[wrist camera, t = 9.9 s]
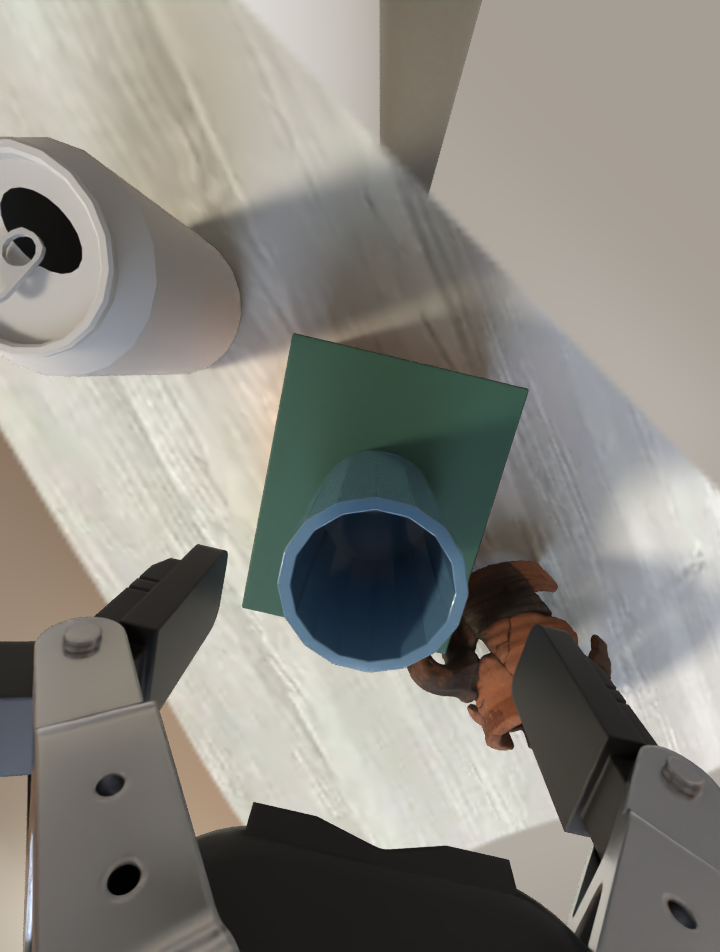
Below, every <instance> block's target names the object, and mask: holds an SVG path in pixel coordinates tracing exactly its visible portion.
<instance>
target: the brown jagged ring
mask: <svg viewBox="0 0 720 952" xmlns="http://www.w3.org/2000/svg"><path fill="white" fill-rule="evenodd" d="M557 588H558V586H557V584H556V582H555V581H554V579H553V578H552V577H551V576H550V575H549V574H548V573H547V572H546V571H545V570H543V568H542V567H541V566H540V565H539V564H538V563H536V562H531V561H511V562H503V563H499V564H494V565H489V566H487V567H485V568H482V569H478V570H476V571H475V572H472V573H471V575H470V578H469V581H468V590H469V593H468V598H467V601H466V604H465V607H464V610H463V613H462V617H461V620H460V623H459V625H458V627H457V629H456V630H455V631H454V632H453V633H452V635H451V638H450V641H449V644H448V647H447V651H446V653H445V654H442V658H443V659H444V661H445V665H443V664H439V663H437V662H436V661H435V660H434V659H433V658H432V657H431V655H429V656H428V657H426V658H424V659H422V660H420V661H418V662H416V663H414V664H412V665H410V666H408V667H407V669H408V671H409V673H410V676H411V678H412V679H413V680H414V682H415V683H416V684H417V685H418V686H420V687H421V688H422V689H424V690H425V691H428V692H430V693H433V694H436V695H440V696H453V697H457V698H458V699H460V700H461V701H462V702H465V703H469V702H472V701H473V700H475V701H476V705H474V704H470V705H469V706H468V707H467V709H468V712H469V714H470V716H471V717H472V719H473V720H474V721H475V722H477V723H478V724H480V725H481V726H482V728H483V731H484V734H485V740H486V743H487V745H488V746H490V747H491V748H494V749H497V750H512V749H513V748H514V744H513V741H512V739H511V736H510V734H509V732H515V731H519V730H522V731H523V732H524V734H525V737H526V741H527V743H528V747H529V748H530V749H532V747H531V745H530V742H529V740H528V737H527V735H526V732H525V730H524V727H523V724H522V722H521V719H520V717H519V714H518V712H517V709H516V707H515V704H514V701H513V697H512V680H513V676H514V673H515V670H516V667H517V665H518V662H519V659H520V657H521V654H522V651H523V649H524V646H525V643H526V641H527V638H528V635H529V633H530V630H531V629H532V627H533V626H534V625H536V624H539V625H543V626H548V627H552V628H556V629H561V630H565V631H567V632H569V634H570V635H571V636H572V638H573V639H574V641H575V642H576V643H577V645H578V638H577V634H576V632H574V631H573V629H572V627H571V626H570V625H569V624H568V623H567V622H566V621H564V620H562V619H559V618H556V617H552V616H551V614H552V612H551V611H550V610H549V608H548V607H547V605H546V604H545V603H544V602H543V601H542V600H541V599H540V597H539V596H538V595H537V594H536V593H535V592H538V591H548V592H555V591H556V590H557ZM478 639H480V640H482V641H483V642H484V644H485V645H486V646H487V647H488V648H489V650H490V651H491V653H489V654H487V655H484V656H483V657H482V658H481V659H479V658H478V656H477V654H476V653H475V649H476V645H477V642H478ZM588 658H590V659H591V660H592V661H593V662H594V663H595V664H596V665H598V666H599V667H600V668H601V669H602V670H603V671H604V672H605V673H606V674H607V676H608V677H609V679H611V676H610V675H611V662H610V659H609V657H608V652H607V645H606V643H605V642H604V641H603V640H602V639H601V638H600V637H599V636H597V635H592V637H591V651H590V653H589V656H588Z"/></svg>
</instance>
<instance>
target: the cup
mask: <svg viewBox="0 0 720 952" xmlns="http://www.w3.org/2000/svg"><path fill="white" fill-rule="evenodd" d="M277 583H278V585H277V586H278V590H279V595H280V599H281V603H282V608H283V612H284V616H285V618H286V620H287V621H288V623H289V624H290V625H291V627H292V628H293V630H294V631H295V632H296V634H297V635H298V637H299V638H300V639H301V641H302V642H303V644H304V645H305V646H307V647H308V648H310V649H311V650H313V651H314V652H316V653H317V654H319V655H320V656H322V657H323V658H325V659H327V660H328V661H330V662H331V663H333V664H335V665H339V666H343V667H347V668H352V669H356V670H360V671H364V672H377V671H386V670H395V669H403V668H406V667H408V666H410V665H412V664H414V663H416V662H418V661H420V660H422V659H424V658H426V657H428V656H429V655H431V654H433V653H435V652H436V651H437V650H438V649H439V648H440V647H441V646H442V644H443V643H444V642H445V641H446V640H447V639H448V638H449V636H450V635H451V634H452V633H453V632H454V631H455V630H456V629H457V627H458V625H459V623H460V620H461V617H462V613H463V610H464V607H465V604H466V601H467V598H468V593H469V590H468V582H467V573H466V565H465V559H464V557H463V554H462V552H461V550H460V548H459V545H458V543H457V541H456V539H455V536H454V534H453V532H452V530H451V528H450V525H449V523H448V521H447V519H446V516H445V514H444V512H443V510H442V507H441V505H440V503H439V501H438V498H437V496H436V494H435V492H434V490H433V488H432V487H431V485H430V483H429V481H428V479H427V478H426V476H425V475H424V473H423V472H422V471H421V470H420V469H419V468H418V467H417V466H416V465H415V464H414V463H412V462H411V461H410V460H408V459H406V458H405V457H403V456H401V455H398V454H396V453H392V452H389V451H383V450H368V451H362V452H358V453H355V454H352V455H350V456H348V457H346V458H344V459H342V460H341V461H339V462H338V463H337V464H336V465H334V466H333V467H332V468H331V469H330V471H329V472H328V473H327V474H326V476H325V477H324V479H323V480H322V482H321V483H320V485H319V486H318V488H317V490H316V492H315V493H314V495H313V497H312V499H311V501H310V503H309V505H308V507H307V508H306V510H305V512H304V514H303V516H302V518H301V520H300V522H299V523H298V525H297V527H296V529H295V531H294V533H293V535H292V536H291V538H290V540H289V542H288V544H287V546H286V548H285V550H284V553H283V557H282V562H281V567H280V572H279V577H278V582H277Z"/></svg>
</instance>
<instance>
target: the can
mask: <svg viewBox="0 0 720 952" xmlns="http://www.w3.org/2000/svg"><path fill="white" fill-rule="evenodd" d="M240 317H241V307H240V292H239V289H238V286H237V283H236V280H235V277H234V274H233V271H232V269H231V268H230V267H229V265H228V264H227V262H226V261H225V259H224V258H223V257H222V255H221V254H220V252H219V251H218V250H217V249H215V248H214V247H213V246H212V245H210V244H209V243H208V242H206V241H205V240H204V239H203V238H201V237H200V236H199V235H197V234H196V233H195V232H193V231H192V230H191V229H189V228H188V227H187V226H185V225H184V224H183V223H181V222H180V221H178V220H177V219H176V218H174V217H173V216H172V215H170V214H169V213H168V212H166V211H165V210H164V209H162V208H161V207H160V206H158V205H157V204H156V203H154V202H153V201H152V200H150V199H149V198H147V197H146V196H145V195H143V194H142V193H141V192H139V191H138V190H137V189H135V188H134V187H133V186H131V185H130V184H129V183H127V182H126V181H125V180H123V179H122V178H121V177H119V176H118V175H117V174H115V173H114V172H112V171H111V170H110V169H108V168H107V167H106V166H104V165H103V164H102V163H100V162H99V161H98V160H96V159H95V158H94V157H92V156H91V155H90V154H88V153H87V152H86V151H84V150H82V149H79V148H76V147H73V146H71V145H68V144H65V143H62V142H60V141H57V140H54V139H51V138H49V137H0V355H1V356H2V357H4V358H5V359H7V360H8V361H9V362H11V363H12V364H14V365H16V366H19V367H22V368H25V369H28V370H31V371H33V372H36V373H39V374H42V375H45V376H77V377H80V376H124V375H168V374H190V373H193V372H196V371H199V370H202V369H205V368H208V367H209V366H210V365H212V364H213V363H214V362H216V361H217V360H218V359H219V358H221V357H222V356H223V355H224V354H225V353H226V351H227V349H228V348H229V346H230V345H231V343H232V342H233V340H234V339H235V337H236V333H237V329H238V325H239V321H240Z"/></svg>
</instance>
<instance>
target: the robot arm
mask: <svg viewBox="0 0 720 952" xmlns="http://www.w3.org/2000/svg"><path fill="white" fill-rule="evenodd" d="M227 558H228V553H227V551H225V550H221V549H217V548H212V547H208V546H204V545H200V544H197V545H196V546H195V547H194V548H193V549H192V550H191V551H190V552H189V553H188V554H187V555H186V556H185V557H184V558H183V559H182V560H177V559H173V558H170V559H167V560H164V561H162V562H159V563H157V564H154V565H152V566H151V567H150V568H149V569H147V570H146V571H145V572H144V573H143V574H142V575H141V576H140V578H137V579H136V580H135V581H134V582H133V583H132V584H130V586H129V588H126V589H125V590H124V591H122V592H121V593H120V594H119V595H118V596H117V597H116V598H115V599H113V600H112V601H111V602H110V603H109V604H108V605H107V606H106V607H104V608H103V609H102V610H101V611H100V612H99V613H98V614H96V615H95V616H94V617H80V618H74V619H70V620H66V621H63V622H60V623H57V624H55V625H53V626H51V627H50V628H48V629H47V630H45V631H44V632H43V633H42V634H40V636H39V637H38V638H37V640H36V641H29V642H0V777H8V776H18V775H19V776H20V775H27V810H26V811H27V812H26V863H25V865H26V866H25V900H24V928H23V930H24V931H23V952H720V787H719V786H718V785H717V784H716V783H715V782H714V781H713V779H712V778H711V777H710V776H709V775H707V774H706V773H705V772H704V771H703V770H702V769H701V768H699V767H698V766H697V765H695V764H694V763H693V762H691V761H690V760H688V759H687V758H685V757H683V756H681V755H680V754H678V753H676V752H674V751H672V750H669V749H667V748H664V747H661V746H658V745H657V743H656V742H655V741H654V739H653V738H652V736H651V735H650V734H649V732H648V731H647V730H646V728H645V727H644V725H643V724H642V723H641V721H640V720H639V719H638V717H637V716H636V714H635V713H634V712H633V710H632V709H631V707H630V706H629V705H627V704H626V701H625V699H624V698H623V696H622V695H621V694H620V692H619V691H617V690H616V687H615V685H614V684H613V683H612V681H611V680H610V679H609V677H608V676H607V674H606V673H605V672H604V671H603V670H602V669H601V668H600V667H599V666H598V665H596V664H595V663H594V662H593V661H592V660H591V659H590V658H588V657H587V656H586V655H584V653H583V652H582V651H581V649H580V648H579V646H578V645H577V643H576V642H575V641H574V639H573V638H572V636H571V635H570V634H569V632H567V631H565V630H561V629H556V628H552V627H548V626H543V625H539V624H536V625H534V626H533V627H532V629H531V630H530V633H529V635H528V638H527V641H526V643H525V646H524V649H523V651H522V654H521V657H520V659H519V662H518V665H517V667H516V670H515V673H514V676H513V680H512V697H513V701H514V704H515V707H516V709H517V712H518V714H519V717H520V719H521V722H522V724H523V727H524V730H525V732H526V735H527V737H528V740H529V742H530V745H531V747H532V750H533V752H534V755H535V758H536V760H537V763H538V765H539V768H540V770H541V773H542V775H543V778H544V781H545V783H546V786H547V788H548V791H549V793H550V796H551V798H552V801H553V804H554V806H555V809H556V811H557V814H558V816H559V819H560V821H561V824H562V826H563V829H564V831H565V832H569V833H573V834H578V835H582V836H586V837H591V839H592V842H593V844H594V845H593V848H592V849H591V852H590V853H589V855H588V858H587V860H586V863H585V866H584V869H583V872H582V876H581V879H580V882H579V885H578V888H577V891H576V894H575V898H574V901H573V904H572V907H571V910H570V913H569V916H568V920H567V923H566V925H565V924H564V923H563V922H562V921H561V920H560V919H559V918H558V917H557V916H556V915H554V914H553V913H552V912H551V911H549V910H548V909H547V908H545V907H544V906H543V905H542V904H540V903H539V902H537V901H536V900H534V899H533V898H531V897H530V896H528V895H527V894H525V893H523V892H521V891H520V890H518V889H516V885H515V881H514V877H513V873H512V869H511V866H510V862H509V860H507V859H503V858H499V857H494V856H490V855H485V854H481V853H477V852H472V851H468V850H463V849H459V848H454V847H450V846H435V847H419V848H404V849H381V848H378V847H375V846H373V845H371V844H369V843H367V842H366V841H364V840H362V839H360V838H358V837H356V836H354V835H352V834H350V833H348V832H346V831H344V830H342V829H340V828H338V827H336V826H335V825H333V824H331V823H329V822H327V821H325V820H323V819H321V818H319V817H317V816H313V815H309V814H304V813H300V812H296V811H291V810H287V809H282V808H278V807H273V806H269V805H265V804H260V803H256V802H253V806H252V809H251V813H250V816H249V820H248V823H247V826H237V827H230V828H224V829H219V830H215V831H212V832H209V833H206V834H203V835H200V836H198V837H196V836H195V833H194V829H193V826H192V822H191V819H190V815H189V812H188V808H187V805H186V801H185V798H184V795H183V791H182V787H181V784H180V780H179V777H178V774H177V770H176V767H175V763H174V760H173V756H172V753H171V749H170V746H169V742H168V739H167V735H166V732H165V728H164V725H163V721H162V718H161V714H160V709H161V708H162V706H163V704H164V703H165V701H166V700H167V698H168V697H169V695H170V693H171V692H172V690H173V689H174V687H175V686H176V684H177V682H178V681H179V679H180V678H181V676H182V675H183V673H184V672H185V670H186V668H187V667H188V665H189V664H190V662H191V661H192V659H193V657H194V656H195V654H196V653H197V651H198V650H199V648H200V646H201V645H202V643H203V642H204V640H205V639H206V637H207V635H208V634H209V632H210V631H211V629H212V627H213V625H214V622H215V620H216V617H217V614H218V610H219V606H220V600H221V594H222V589H223V583H224V577H225V571H226V565H227Z"/></svg>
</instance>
